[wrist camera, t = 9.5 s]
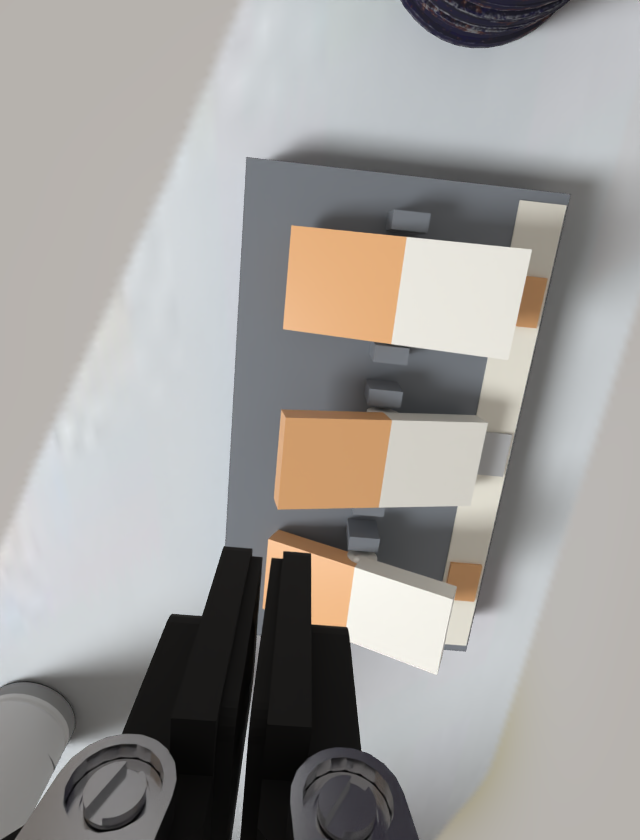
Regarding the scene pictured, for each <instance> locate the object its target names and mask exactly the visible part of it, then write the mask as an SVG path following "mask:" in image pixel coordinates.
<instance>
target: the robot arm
mask: <svg viewBox="0 0 640 840" xmlns="http://www.w3.org/2000/svg"><path fill="white" fill-rule="evenodd" d="M252 553H253V550H252V548H240V547H228V546H224V547H223V550H222V553H221V557H220V560H219V563H218V566H217V570H216V573H215V576H214V579H213V583H212V586H211V589H210V592H209V596H208V599H207V602H206V605H205V609H204V612H203V615H202V616H193V615H179V614H172V615H170V617H169V619H168V621H167V623H166V625H165V628H164V630H163V633H162V635H161V638H160V640H159V643H158V645H157V648H156V650H155V653H154V655H153V658H152V660H151V663H150V665H149V668H148V670H147V673H146V675H145V678H144V680H143V683H142V685H141V688H140V690H139V693H138V695H137V698H136V700H135V703H134V705H133V708H132V710H131V713H130V715H129V718H128V720H127V723H126V725H125V728H124V730H123V733H122V734H121V735H116V736H111V737H106V738H104V739H102V740H99V741H97V742H95V743H93V744H90V745H88V746H87V747H86V748H84V749H83V750H82V751H80V752H79V753H78V754H76V755H75V756H73V757H72V758H71V760H70V761H69V762H68V763H67V764H66V765H65V767H64V768H63V769H62V770H61V771H60V772H59V774H58V775H57V777H56V778H55V780H54V781H53V783H52V784H51V786H50V787H49V789H48V790H47V792H46V793H45V795H44V796H43V798H42V799H41V801H40V802H39V804H38V805H37V807H36V808H35V810H34V811H33V813H32V814H31V816H30V817H29V819H28V820H27V822H26V823H25V825H23V826H22V827H20V828H19V829H17V830H15V831H14V832H12V833H11V834H9V835H7V836H6V837H4V838H3V839H1V840H231V838H232V831H233V824H234V817H235V809H236V802H237V795H238V788H239V780H240V773H241V766H242V759H243V751H244V744H245V737H246V730H247V722H248V715H249V708H250V701H251V693H252V685H253V675H254V663H255V651H256V638H257V625H258V613H259V600H260V587H261V575H262V562H263V557H256V556H252ZM240 840H419V839H418V835H417V832H416V829H415V826H414V823H413V820H412V817H411V814H410V811H409V808H408V805H407V802H406V799H405V796H404V793H403V791H402V789H401V787H400V785H399V783H398V781H397V779H396V777H395V776H394V775H393V773H392V772H391V771H390V770H389V769H388V768H387V767H386V766H385V764H384V763H382V762H381V761H379V760H378V759H376V758H375V757H373V756H372V755H370V754H368V753H365V752H362V751H361V744H360V734H359V725H358V715H357V705H356V696H355V686H354V676H353V667H352V657H351V647H350V637H349V631H348V628H347V627H341V626H327V625H314V624H311V553H302V552H290V551H283V559H281V558H271V566H270V573H269V581H268V588H267V596H266V603H265V611H264V618H263V626H262V633H261V641H260V648H259V656H258V663H257V671H256V678H255V686H254V693H253V701H252V708H251V717H250V726H249V737H248V749H247V761H246V774H245V787H244V800H243V812H242V825H241V838H240Z"/></svg>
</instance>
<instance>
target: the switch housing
mask: <svg viewBox="0 0 640 840" xmlns="http://www.w3.org/2000/svg"><path fill="white" fill-rule="evenodd" d="M570 195H571V194H564V193H555V192H547V191H538V190H529V189H520V188H512V187H503V186H494V185H486V184H477V183H468V182H459V181H451V180H442V179H433V178H424V177H416V176H407V175H398V174H389V173H381V172H372V171H363V170H354V169H346V168H337V167H328V166H320V165H311V164H302V163H293V162H285V161H276V160H267V159H258V158H250V157H246V175H245V194H244V212H243V230H242V248H241V267H240V285H239V303H238V321H237V340H236V358H235V376H234V394H233V413H232V431H231V449H230V467H229V485H228V504H227V522H226V540H225V546H228V547H240V548H252V550H253V553H252V556H256V557H263V562H262V575H261V587H260V600H259V613H258V625H257V635H261V633H262V626H263V618H264V611H265V609H262V608H263V596H264V584H265V572H266V560H267V547H268V539H269V538H270V537H271V536H272V535H273V534H274V533H275V532H276V531H277V530H281V531H285V532H288V533H291V534H294V535H297V536H300V537H303V538H307V539H310V540H313V541H316V542H319V543H322V544H325V545H329V546H332V547H335V548H338V549H341V550H344V551H347V552H348V551H349V550H354V551H366V552H373V553H375V554H376V556H377V561H379V562H382V563H385V564H388V565H391V566H394V567H398V568H401V569H404V570H407V571H410V572H413V573H416V574H420V575H423V576H426V577H429V578H432V579H435V580H438V581H442V582H445V583H448V584H451V585H454V586H457V589H456V594H455V598H454V603H453V608H452V612H451V617H450V622H449V627H448V631H447V636H446V641H445V645H444V650H454V651H466V649H467V645H468V640H469V636H470V631H471V627H472V623H473V618H474V614H475V610H476V605H477V601H478V597H479V592H480V588H481V583H482V579H483V575H484V570H485V566H486V562H487V557H488V553H489V548H490V544H491V540H492V535H493V531H494V527H495V522H496V518H497V514H498V509H499V505H500V500H501V496H502V492H503V487H504V483H505V479H506V474H507V470H508V465H509V461H510V457H511V452H512V448H513V444H514V439H515V435H516V431H517V426H518V422H519V417H520V413H521V409H522V404H523V400H524V396H525V391H526V387H527V383H528V378H529V374H530V369H531V365H532V361H533V356H534V352H535V348H536V343H537V339H538V334H539V330H540V326H541V321H542V317H543V313H544V308H545V304H546V300H547V295H548V291H549V286H550V282H551V278H552V273H553V269H554V265H555V260H556V256H557V251H558V247H559V243H560V238H561V234H562V230H563V225H564V221H565V217H566V212H567V208H568V203H569V199H570ZM291 225H293V226H303V227H313V228H323V229H333V230H343V231H353V232H363V233H373V234H382V235H392V236H402V237H412V238H422V239H432V240H442V241H452V242H462V243H472V244H482V245H492V246H502V247H512V248H522V249H532V252H531V257H530V262H529V266H528V271H527V276H526V280H525V285H524V290H523V294H522V299H521V304H520V308H519V313H518V317H517V322H516V327H515V331H514V336H513V341H512V345H511V350H510V355H509V359H508V360H503V359H496V358H488V357H481V356H474V355H467V354H459V353H452V352H445V351H438V350H430V349H423V348H416V347H409V346H401V345H394V344H387V343H380V342H372V341H365V340H358V339H351V338H343V337H336V336H329V335H322V334H314V333H307V332H300V331H292V330H285V329H283V322H284V310H285V298H286V285H287V273H288V261H289V248H290V236H291ZM374 407H379V408H387V409H391V410H394V411H397V412H398V413H422V414H457V415H476V416H478V417H480V418H481V419H483V420H484V421H486V422H488V425H487V430H486V435H485V440H484V444H483V449H482V454H481V459H480V463H479V468H478V473H477V478H476V482H475V487H474V492H473V497H472V501H471V506H436V507H384V508H332V509H281V510H278V509H277V506H276V503H275V500H274V489H275V477H276V465H277V453H278V441H279V430H280V418H281V409H285V410H319V411H353V412H367V409H368V408H374ZM350 643H351V642H350Z"/></svg>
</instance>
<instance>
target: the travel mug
mask: <svg viewBox="0 0 640 840" xmlns="http://www.w3.org/2000/svg"><path fill="white" fill-rule="evenodd" d="M74 727H75V717H74V713H73V710H72V708H71V706H70V705H69V703H68V702H67V701H66V700H65V699H64V698H63V696H61V695H60V694H59V693H57V692H56V691H54V690H52V689H51V688H49V687H46V686H43V685H41V684H36V683H30V682H19V683H12V684H9V685H6V686H3V687H1V688H0V840H1V839H3V838H4V837H6V836H7V835H9V834H11V833H12V832H14V831H15V830H17V829H19V828H20V827H22V826H23V825H25V823H26V822H27V820H28V819H29V817H30V816H31V814H32V813H33V811H34V809H35V807H36V805H37V803H38V801H39V799H40V797H41V795H42V793H43V791H44V790H45V788H46V786H47V784H48V782H49V780H50V778H51V776H52V774H53V772H54V770H55V768H56V766H57V764H58V762H59V760H60V758H61V755H62V753H63V751H64V750H65V748H66V746H67V744H68V742H69V740H70V738H71V736H72V733H73V731H74Z"/></svg>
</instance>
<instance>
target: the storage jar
mask: <svg viewBox="0 0 640 840" xmlns="http://www.w3.org/2000/svg"><path fill="white" fill-rule="evenodd" d="M568 1H570V0H401V2H402V4H403V5H404V7H405V8H406V9H407V11H408V12H409V13H410V14H411V16H412V17H413V18H414V19H415V20H416V21H417V22H418V23H419V24H420V25H421V26H422V27H423V28H425V29H426V30H427V31H428V32H430V33H431V34H433V35H435V36H436V37H438V38H439V39H441V40H444V41H446V42H449V43H452V44H454V45H458V46H463V47H468V48H489V47H495V46H500V45H504V44H507V43H509V42H512V41H515V40H518V39H520V38H521V37H523V36H525V35H527V34H528V33H530V32H532V31H533V30H535V29H536V28H537V27H539V26H540V25H541V24H542V23H544V22H545V21H546V20H547V19H548V18H549V17H550V16H551V15H552V14H553V13H554V12H555V11H556V10H558V9H559V8H561V7H562V6H563V5H564V4H566V3H567V2H568Z"/></svg>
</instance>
